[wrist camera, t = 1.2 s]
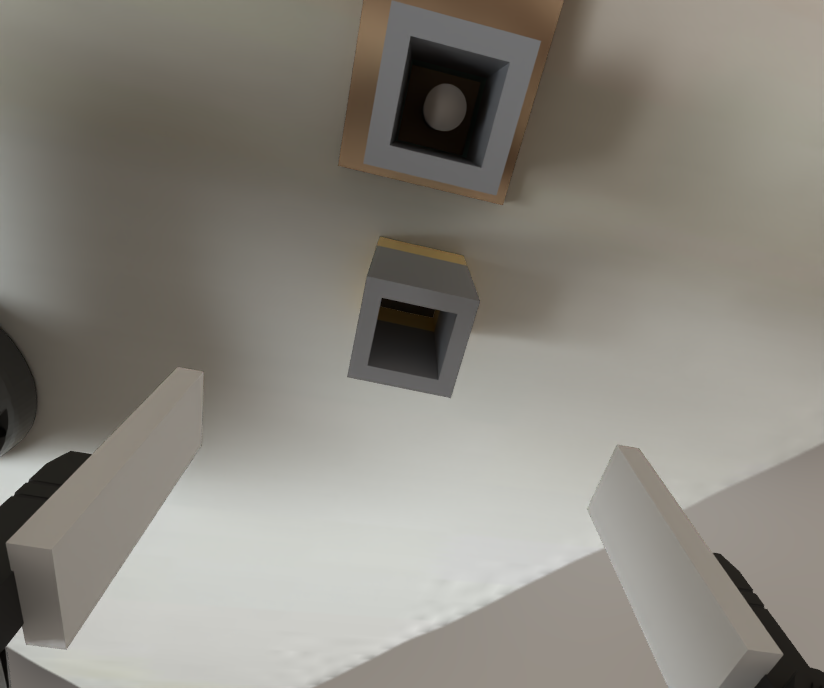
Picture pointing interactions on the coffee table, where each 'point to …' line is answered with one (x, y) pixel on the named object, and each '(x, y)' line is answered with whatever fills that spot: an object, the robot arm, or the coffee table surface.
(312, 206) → the coffee table surface
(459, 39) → the sleeve teal
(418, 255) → the sleeve ochre
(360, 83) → the pin board
